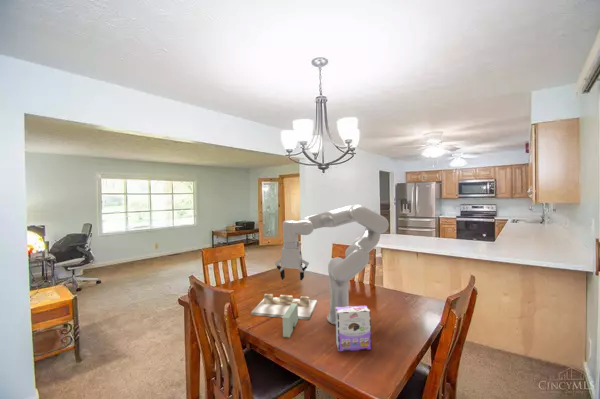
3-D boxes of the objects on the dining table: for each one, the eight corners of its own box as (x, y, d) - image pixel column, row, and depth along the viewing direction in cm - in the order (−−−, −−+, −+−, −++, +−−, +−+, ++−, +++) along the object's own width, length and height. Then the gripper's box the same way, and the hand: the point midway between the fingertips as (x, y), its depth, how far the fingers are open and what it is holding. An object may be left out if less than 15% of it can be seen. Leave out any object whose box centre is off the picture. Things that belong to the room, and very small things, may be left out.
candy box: (367, 342, 119) (366, 304, 118) (371, 350, 113) (370, 310, 112) (335, 343, 118) (335, 306, 118) (338, 351, 112) (337, 312, 112)
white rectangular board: (316, 302, 162) (316, 291, 162) (309, 320, 140) (309, 307, 140) (265, 299, 169) (265, 288, 169) (251, 314, 148) (250, 303, 148)
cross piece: (292, 320, 140) (291, 303, 140) (298, 321, 140) (297, 303, 139) (283, 336, 125) (282, 317, 125) (289, 337, 124) (288, 317, 124)
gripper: (309, 243, 138) (310, 277, 139) (276, 243, 142) (278, 276, 143) (306, 246, 131) (307, 282, 131) (271, 246, 135) (273, 280, 136)
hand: (292, 279), depth 137 cm, fingers open, 9 cm apart
